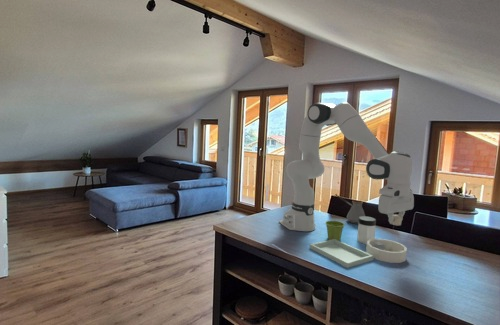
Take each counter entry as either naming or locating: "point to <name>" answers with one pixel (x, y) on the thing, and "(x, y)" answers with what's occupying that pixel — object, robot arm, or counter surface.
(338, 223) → the plant pot
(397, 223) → the stone sand
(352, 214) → the coffee pot
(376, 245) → the grey ball
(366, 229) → the jar
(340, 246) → the parts tray
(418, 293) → the counter surface
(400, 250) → the bowl
